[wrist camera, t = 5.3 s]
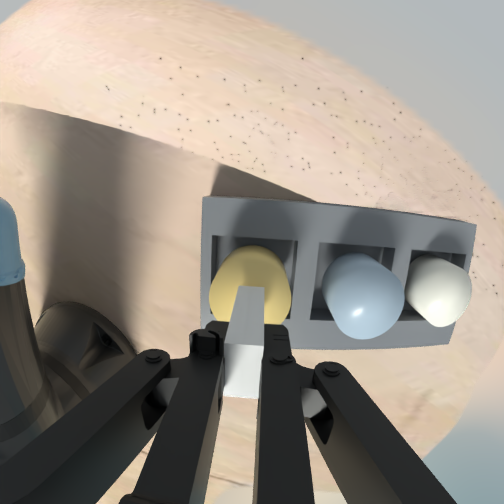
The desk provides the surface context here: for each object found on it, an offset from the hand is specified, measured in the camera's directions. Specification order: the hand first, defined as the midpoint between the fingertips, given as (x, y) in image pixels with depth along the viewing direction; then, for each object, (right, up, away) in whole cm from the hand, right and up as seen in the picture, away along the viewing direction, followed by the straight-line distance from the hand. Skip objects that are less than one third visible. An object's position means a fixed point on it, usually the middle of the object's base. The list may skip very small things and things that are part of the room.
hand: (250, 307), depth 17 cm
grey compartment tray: (+8, +1, +8) cm, 12 cm away
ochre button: (0, +1, +5) cm, 6 cm away
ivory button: (+16, +1, +7) cm, 17 cm away
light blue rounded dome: (+8, +1, +5) cm, 10 cm away
